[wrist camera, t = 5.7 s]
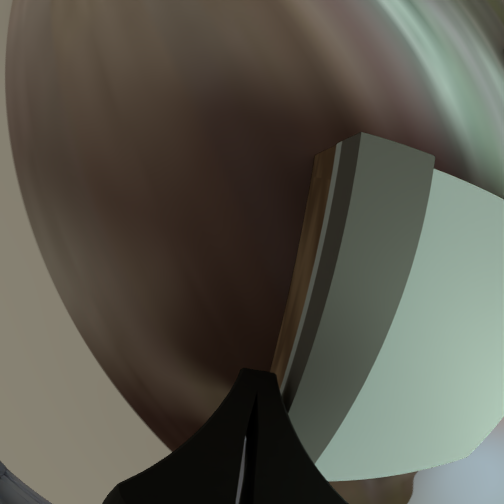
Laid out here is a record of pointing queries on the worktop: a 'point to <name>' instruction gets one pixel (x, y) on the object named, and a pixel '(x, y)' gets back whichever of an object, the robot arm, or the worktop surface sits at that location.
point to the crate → (304, 259)
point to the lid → (399, 318)
